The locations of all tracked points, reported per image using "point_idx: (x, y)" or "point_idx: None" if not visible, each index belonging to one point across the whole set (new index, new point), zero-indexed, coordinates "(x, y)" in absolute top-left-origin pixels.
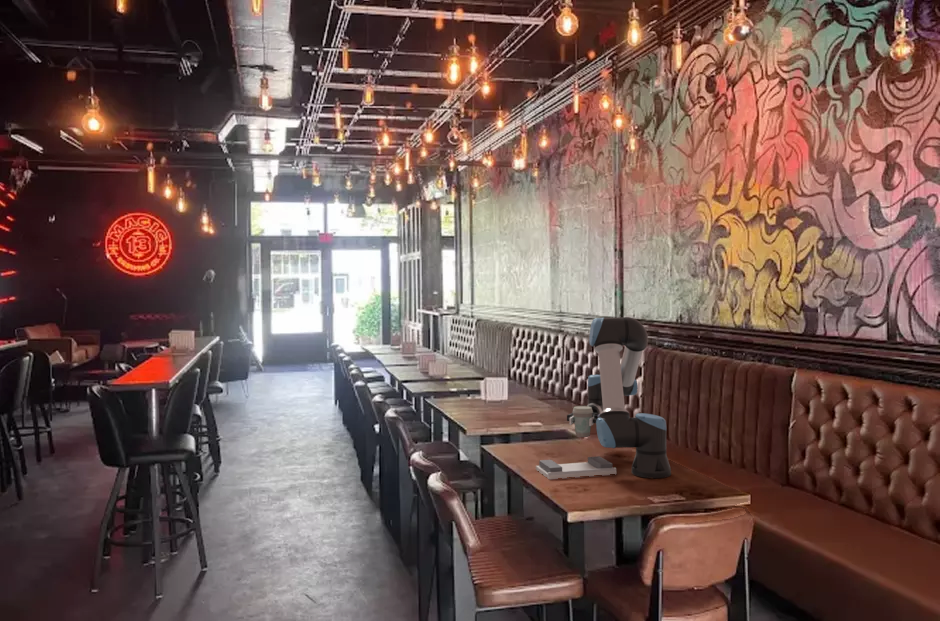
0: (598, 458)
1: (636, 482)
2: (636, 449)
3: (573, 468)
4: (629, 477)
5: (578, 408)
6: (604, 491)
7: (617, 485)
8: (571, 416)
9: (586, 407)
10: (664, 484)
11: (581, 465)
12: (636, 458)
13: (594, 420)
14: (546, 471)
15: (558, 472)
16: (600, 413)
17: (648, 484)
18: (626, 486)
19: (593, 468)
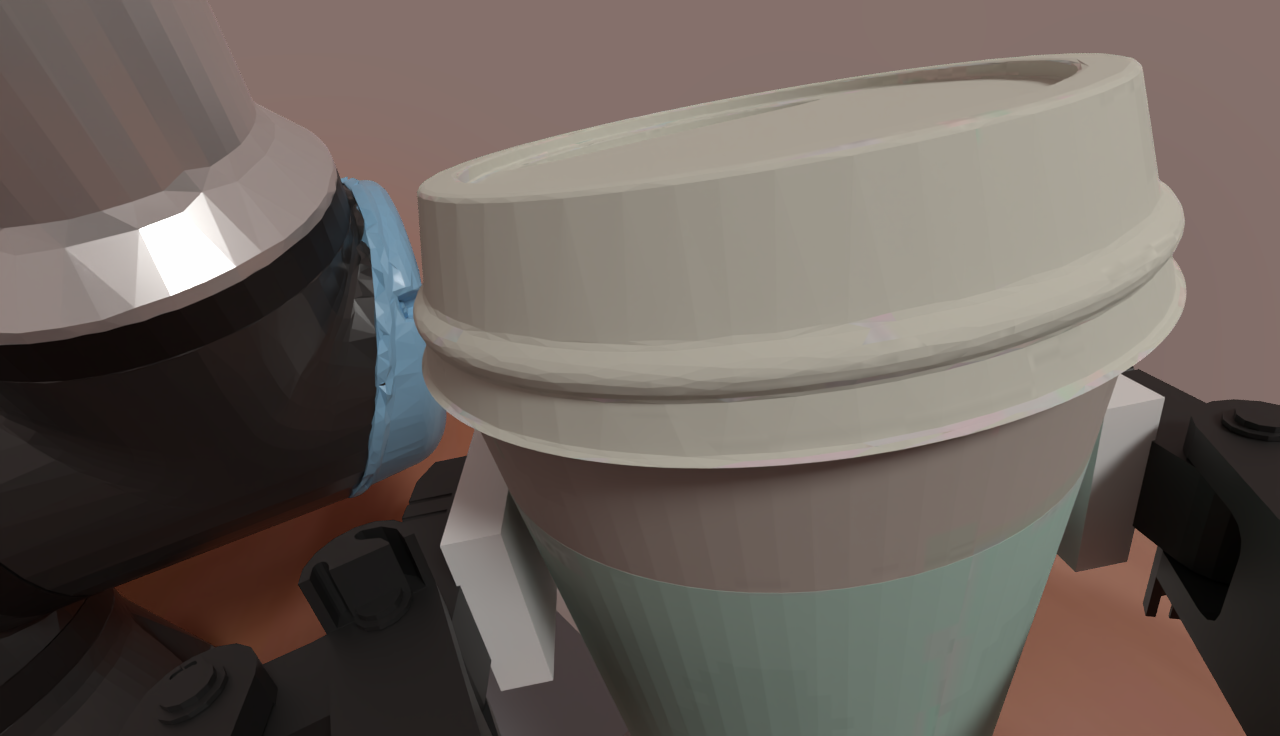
0: (527, 704)
1: (293, 561)
2: (96, 595)
3: None
4: (309, 631)
5: (752, 94)
6: None
7: (409, 483)
8: (1216, 416)
9: (640, 168)
10: (131, 600)
11: None
12: (151, 641)
13: (450, 472)
14: None
15: None
16: (323, 143)
17: (233, 561)
18: (366, 490)
19: (563, 603)
